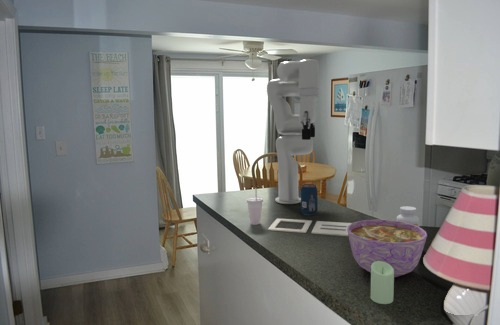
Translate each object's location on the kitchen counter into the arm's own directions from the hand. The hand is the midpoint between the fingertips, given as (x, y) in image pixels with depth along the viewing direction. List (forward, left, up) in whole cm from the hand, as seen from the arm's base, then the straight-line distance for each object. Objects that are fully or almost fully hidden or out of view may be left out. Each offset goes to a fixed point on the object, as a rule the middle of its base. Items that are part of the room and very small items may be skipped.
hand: (308, 138), depth 149 cm
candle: (+60, +27, -33) cm, 73 cm away
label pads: (+10, +3, -33) cm, 34 cm away
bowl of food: (+44, +28, -33) cm, 61 cm away
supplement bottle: (+24, +35, -33) cm, 53 cm away
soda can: (-9, -1, -33) cm, 34 cm away
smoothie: (+10, -19, -33) cm, 39 cm away
